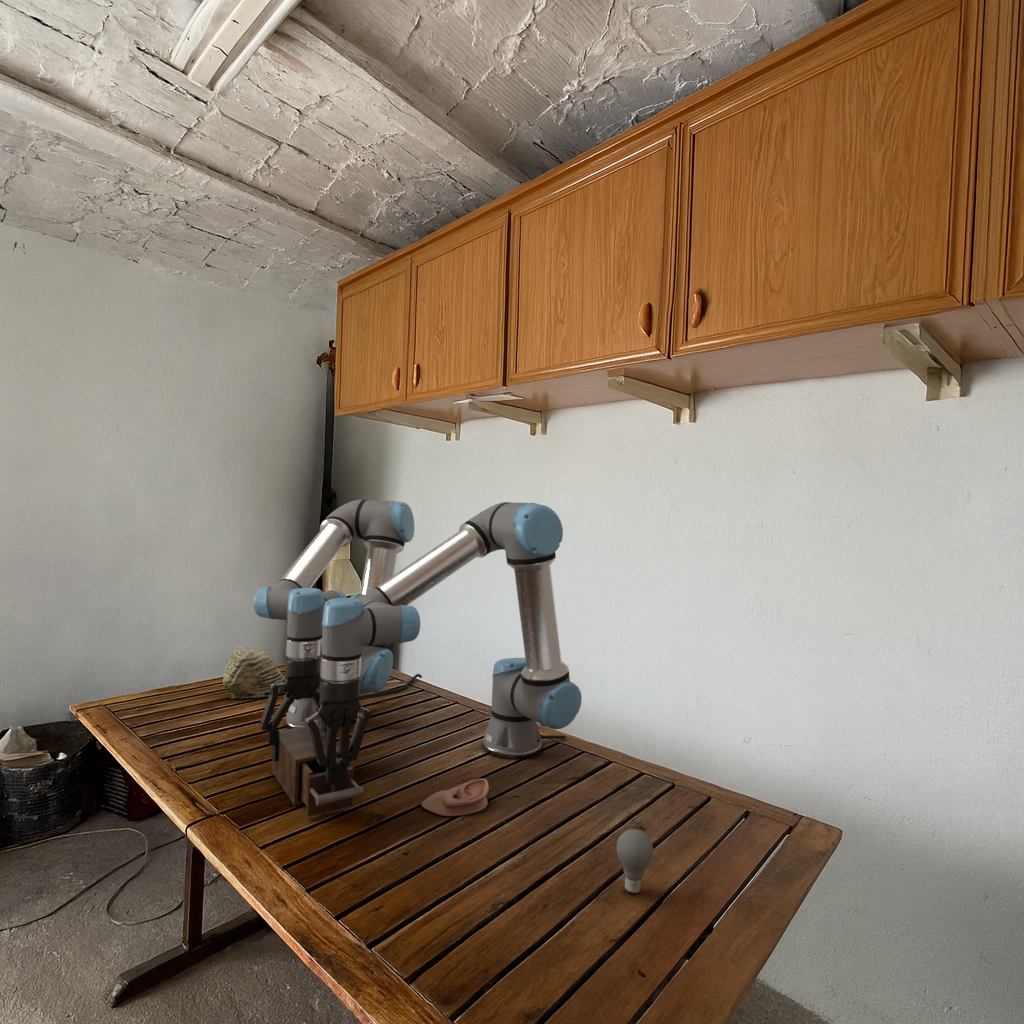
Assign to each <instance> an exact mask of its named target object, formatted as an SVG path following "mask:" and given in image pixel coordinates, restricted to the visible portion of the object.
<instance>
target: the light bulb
mask: <svg viewBox="0 0 1024 1024" xmlns="http://www.w3.org/2000/svg"><path fill="white" fill-rule="evenodd" d="M615 849H616V854H617V857H618V859H619V861H620V863H621V865H622V867H623V873H624V874H623V875H624V876H625V878H624V888H625V890H627V891H628V892H630V893H634V894H635V893H639V892H640V891H641V889H642V887H641V886H642V879H643V877H644V875H645V871H646V868H647V867H648V866H649V864H650V863H651V861H652V859H653V855H654V847H653V843H652V841H651V838H649V836H648V835H647V834H646V833H645V832H643V831H642V830H641V829H636V828H629V829H627V830H625V831H623V832H622V833H621V834H620V835H619V837H618V839H617V841H616V847H615Z"/></svg>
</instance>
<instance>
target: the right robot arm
mask: <svg viewBox="0 0 1024 1024" xmlns="http://www.w3.org/2000/svg"><path fill="white" fill-rule="evenodd" d="M563 536H564V529H563V524H562V521H561V519H560V517H559V515H558V514H557V512H556V511H555V510H554V509H552V508H550V507H549V506H547V505H544V504H540V503H537V502H536V503H535V502H512V501H511V502H510V501H508V502H507V501H504V502H498V503H496V504H494V505H493V504H492V505H491V506H489V507H487V508H485V509H484V510H482V511H479V513H477V514H475V515H474V516H472V517H471V518H470V519H468V520H467V521H465V522H463V523H462V524H461V525H460V526H459V529H458V532H456V533H454V534H453V535H451V536H450V537H448V538H447V539H446V540H444V541H442V542H441V543H440V544H438V545H437V546H435V547H434V548H432V549H431V550H429V551H427V552H426V553H424V554H423V555H422V556H420V557H418V558H417V559H416V560H414V561H413V562H411V563H410V564H408V565H407V566H405V567H404V568H402V569H401V570H400V571H398V572H395V573H394V576H392V577H391V578H389V579H388V580H386V581H385V582H383V583H382V584H380V585H379V586H377V587H376V588H374V589H372V590H371V591H369V592H368V593H366V594H365V595H364V594H361V595H360V593H359V594H353V595H351V596H350V597H347V598H334V599H330V600H328V601H327V602H326V603H325V606H324V611H323V621H322V632H321V638H322V657H321V674H320V676H321V678H322V680H321V681H320V702H319V705H318V707H317V712H316V713H314V714H313V715H312V716H311V717H309V716H307V717H306V718H305V719H304V721H305V722H306V724H307V725H308V727H309V728H310V733H311V738H312V742H313V747H314V752H315V756H316V761H317V762H318V764H319V765H320V766H321V767H326V782H327V783H328V784H330V793H332V792H336V791H340V790H342V781H346V779H347V767H350V765H351V764H350V763H351V762H355V761H357V760H358V757H359V753H360V750H361V746H362V742H363V738H364V734H365V731H366V727H367V723H368V722H369V720H370V718H371V717H372V715H373V713H372V711H371V710H370V709H368V708H367V707H363V706H362V702H361V701H360V699H359V696H360V693H361V692H360V680H359V678H358V677H359V676H360V669H361V650H362V647H363V646H372V645H383V644H388V645H393V644H403V643H409V642H413V641H415V640H416V639H417V638H418V636H419V635H420V631H421V617H420V614H419V613H420V612H419V611H418V609H417V608H416V607H415V606H413V605H410V604H412V603H413V602H414V601H416V600H418V599H419V598H420V597H422V596H423V595H425V594H426V593H427V592H429V591H430V590H432V589H433V588H434V587H436V586H437V585H439V584H440V583H442V582H443V581H445V580H446V579H447V578H448V577H450V576H452V575H453V574H455V573H456V572H457V571H459V570H460V569H462V568H463V567H464V566H466V565H467V564H469V563H470V562H472V561H473V560H474V559H476V558H479V559H483V558H485V557H486V556H488V555H489V554H492V553H493V552H496V551H500V550H501V551H503V550H504V551H505V552H504V553H505V559H506V564H507V565H508V566H509V567H510V568H512V569H513V571H514V578H515V579H514V580H515V585H516V587H515V588H516V593H517V594H516V595H517V603H518V611H519V619H520V626H521V634H522V643H523V644H522V645H523V650H524V657H508V658H502V659H499V660H497V661H495V662H494V665H493V670H492V689H491V715H490V719H489V722H488V724H487V727H486V731H485V733H484V735H483V739H482V748H483V750H484V751H485V752H487V753H488V754H490V755H493V756H495V757H499V758H503V759H514V760H515V759H527V758H531V757H535V756H536V755H538V754H540V753H541V751H542V745H543V744H542V743H543V741H542V740H566V738H567V737H566V735H550V734H549V735H541V733H540V729H539V726H538V724H539V725H540V726H542V727H545V728H548V729H552V730H561V729H563V728H566V727H567V726H569V725H570V724H571V723H572V722H573V721H574V720H575V719H576V716H577V715H578V714H579V713H580V712H579V711H580V709H581V706H582V701H583V700H582V697H583V696H582V692H581V689H580V688H579V687H578V685H576V683H575V682H572V681H571V677H570V669H569V665H568V664H566V663H565V662H564V661H562V654H561V645H560V637H559V636H560V635H559V627H558V619H557V612H556V603H555V602H556V601H555V594H554V586H553V577H552V568H551V567H552V564H553V562H554V561H555V560H556V559H557V557H556V556H557V555H556V552H557V551H558V549H559V548H560V546H561V544H560V543H562V542H563ZM356 716H357V718H356ZM320 717H321V719H322V720H323V721H324V723H325V724H326V729H327V737H326V758H325V754H324V749H323V745H322V740H321V735H320V731H319V728H318V725H319V723H320V722H319V718H320ZM355 718H356V720H355V724H354V727H353V732H352V735H350V734H351V733H350V732H351V729H352V722H353V721H354V719H355ZM338 732H339V735H338ZM350 736H351V739H350ZM337 737H338V738H337ZM337 739H338V741H337ZM337 742H338V745H339V758H338V759H339V762H336V743H337ZM339 801H340V800H339ZM335 802H336V801H335Z"/></svg>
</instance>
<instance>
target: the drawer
mask: <svg viewBox="0 0 1024 1024" xmlns="http://www.w3.org/2000/svg"><path fill="white" fill-rule="evenodd" d="M336 762H339V759H338V757H337V756H336ZM354 771H355V768H354V767H353V766H348V767H347V779H346V781H342V790H340V791H336V792H332V793H330V784H328V783H327V782H326V767H321V766H320V765H319V764H318V762H317V761H316V760H313V761H308V762H303V763H300V766H299V793H298V795H299V796H300V798H301V799H302V800H303V802H304V803H303V804H304V805H305V807H306V811H305V814H306V816H307V817H312V816H315V815H319V814H324V813H328V812H333V811H337V810H340V809H344V808H348V807H352V806H353V800H354V799H353V798H357V797H360V796H364V794H365V788H364V786H363V785H358V784H357V782H356V781H355V780H354ZM339 800H340V801H339ZM335 801H336V802H335Z"/></svg>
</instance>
